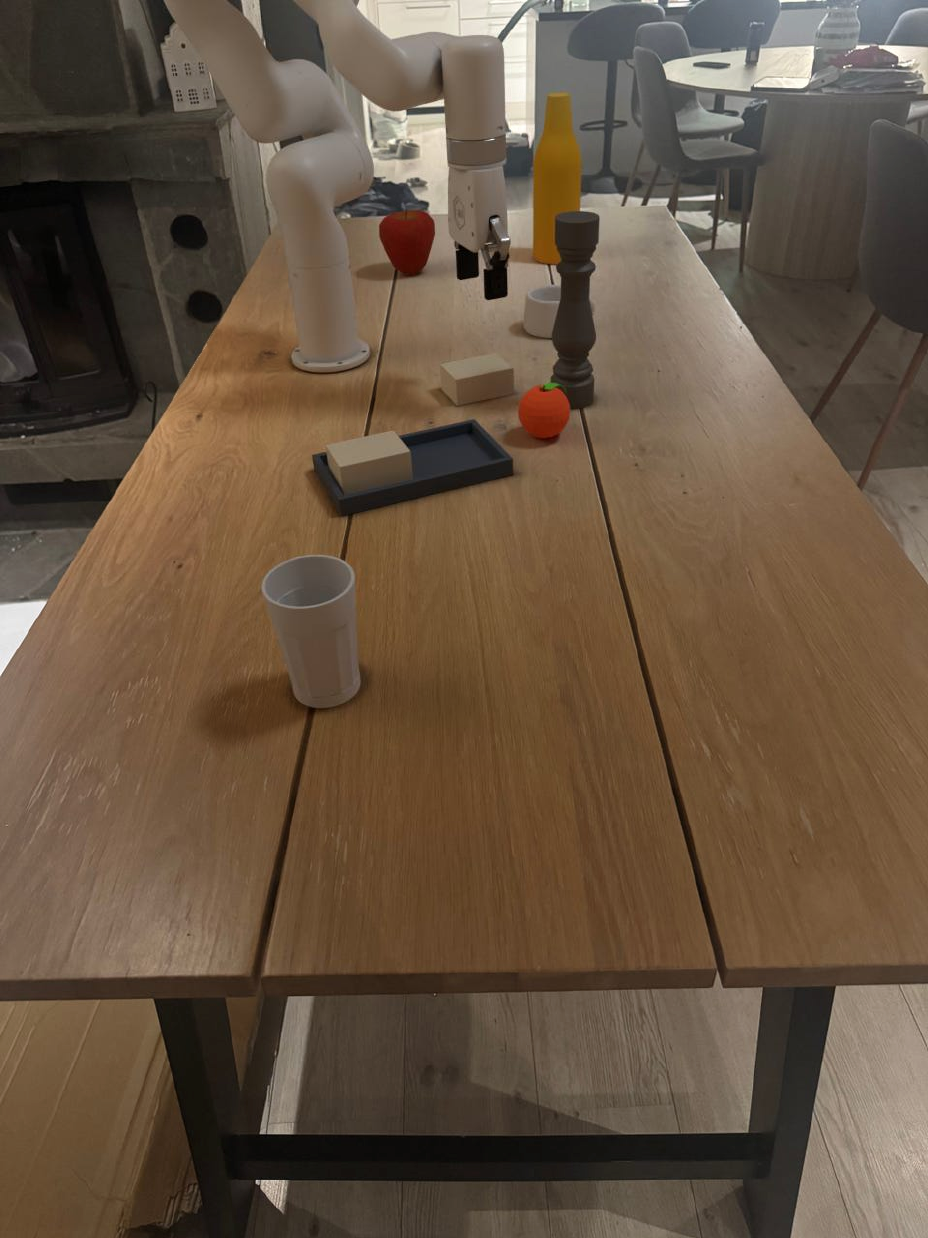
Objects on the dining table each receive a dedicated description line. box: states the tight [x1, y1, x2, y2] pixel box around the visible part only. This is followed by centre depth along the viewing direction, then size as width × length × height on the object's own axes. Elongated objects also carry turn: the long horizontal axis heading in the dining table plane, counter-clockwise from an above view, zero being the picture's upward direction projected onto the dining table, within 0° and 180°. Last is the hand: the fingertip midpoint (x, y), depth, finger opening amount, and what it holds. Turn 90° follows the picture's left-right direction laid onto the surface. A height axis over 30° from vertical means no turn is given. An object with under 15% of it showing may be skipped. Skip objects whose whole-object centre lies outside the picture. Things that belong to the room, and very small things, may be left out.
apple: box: [378, 208, 436, 276], centre depth 179 cm, size 11×11×12 cm
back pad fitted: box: [325, 430, 413, 496], centre depth 115 cm, size 6×9×4 cm
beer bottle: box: [532, 92, 583, 265], centre depth 178 cm, size 9×9×29 cm
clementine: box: [517, 382, 571, 439], centre depth 123 cm, size 8×7×7 cm
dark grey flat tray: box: [311, 418, 514, 517], centre depth 118 cm, size 13×23×2 cm, turn 112°
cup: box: [261, 554, 362, 709], centre depth 83 cm, size 8×8×12 cm
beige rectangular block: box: [439, 352, 515, 407], centre depth 136 cm, size 6×9×4 cm
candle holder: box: [550, 210, 600, 410], centre depth 126 cm, size 6×6×25 cm
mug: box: [522, 284, 596, 339], centre depth 154 cm, size 12×10×6 cm
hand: (481, 287), depth 127 cm, fingers open, 9 cm apart
